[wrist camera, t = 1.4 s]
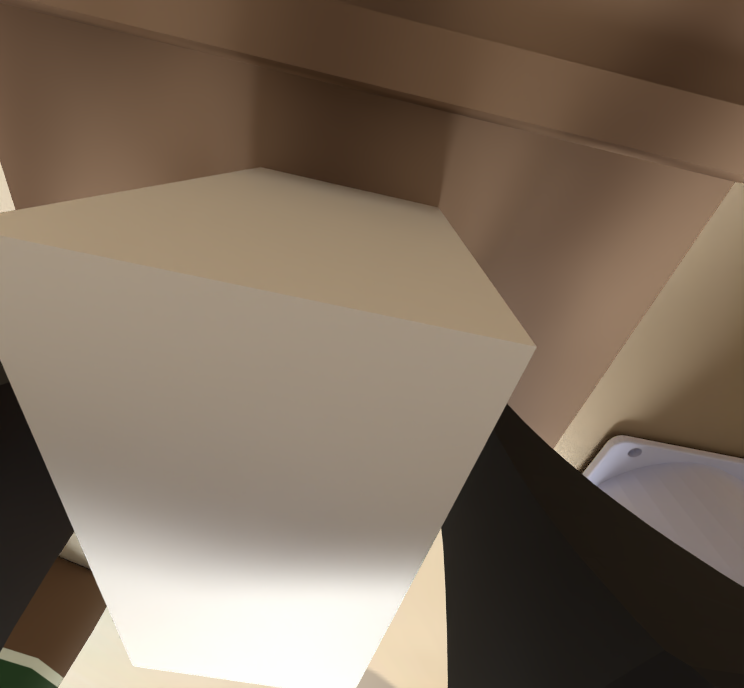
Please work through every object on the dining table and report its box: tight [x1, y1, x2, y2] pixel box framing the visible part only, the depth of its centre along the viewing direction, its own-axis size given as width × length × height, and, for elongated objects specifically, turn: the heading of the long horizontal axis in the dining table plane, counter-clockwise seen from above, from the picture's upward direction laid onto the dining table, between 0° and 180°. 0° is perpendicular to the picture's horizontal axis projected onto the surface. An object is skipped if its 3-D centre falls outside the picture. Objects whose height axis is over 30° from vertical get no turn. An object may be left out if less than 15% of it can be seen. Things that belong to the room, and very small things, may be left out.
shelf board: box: [0, 0, 744, 449], centre depth 9 cm, size 18×22×3 cm
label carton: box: [0, 167, 537, 688], centre depth 8 cm, size 9×5×7 cm, turn 169°
